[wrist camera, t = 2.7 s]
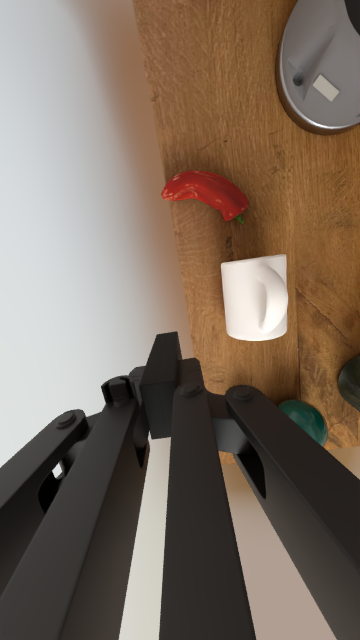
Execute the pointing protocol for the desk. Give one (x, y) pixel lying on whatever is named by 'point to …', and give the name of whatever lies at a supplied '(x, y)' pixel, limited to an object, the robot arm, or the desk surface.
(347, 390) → the mug
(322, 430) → the sphere
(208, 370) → the desk surface
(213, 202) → the vegetable
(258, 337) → the mug
